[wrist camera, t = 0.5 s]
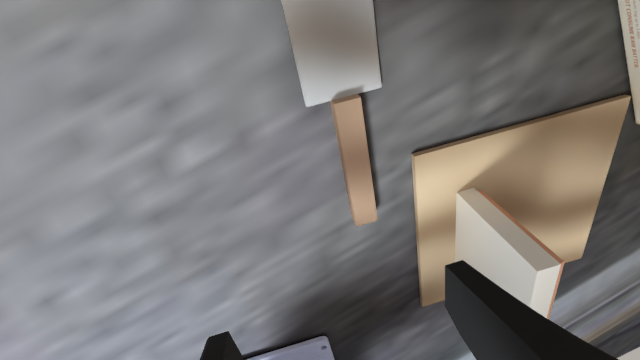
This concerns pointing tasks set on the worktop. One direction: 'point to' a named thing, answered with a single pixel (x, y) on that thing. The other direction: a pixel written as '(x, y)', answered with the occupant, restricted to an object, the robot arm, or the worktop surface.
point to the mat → (517, 183)
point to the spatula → (339, 80)
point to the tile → (505, 251)
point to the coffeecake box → (632, 47)
